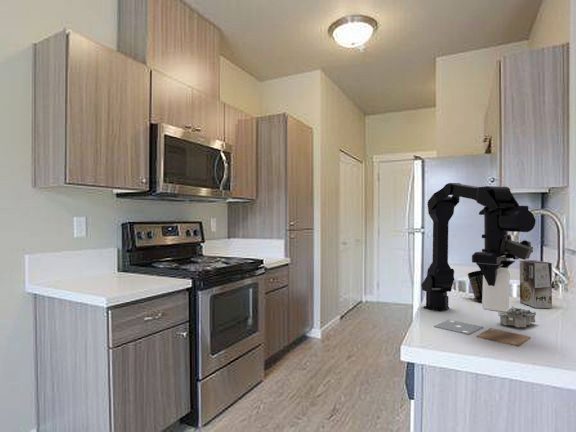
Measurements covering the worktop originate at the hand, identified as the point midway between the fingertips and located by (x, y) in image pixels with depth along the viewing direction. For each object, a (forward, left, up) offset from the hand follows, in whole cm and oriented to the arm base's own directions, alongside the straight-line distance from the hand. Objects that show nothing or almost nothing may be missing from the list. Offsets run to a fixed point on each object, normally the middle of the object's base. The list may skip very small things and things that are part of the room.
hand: (496, 286), depth 103 cm
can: (0, -1, -7) cm, 7 cm away
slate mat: (-9, -3, -13) cm, 16 cm away
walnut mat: (+3, -3, -13) cm, 14 cm away
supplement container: (-19, +38, -13) cm, 45 cm away
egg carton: (+4, +14, -14) cm, 20 cm away
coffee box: (-2, +46, -13) cm, 48 cm away
